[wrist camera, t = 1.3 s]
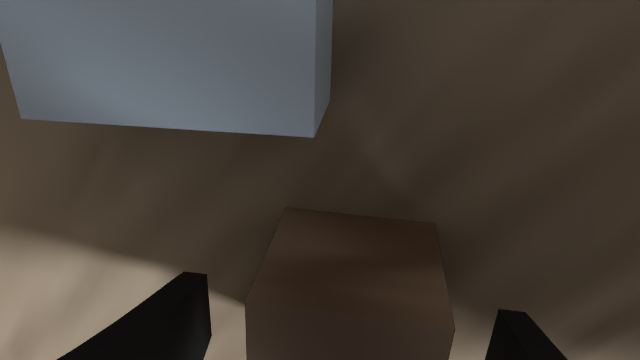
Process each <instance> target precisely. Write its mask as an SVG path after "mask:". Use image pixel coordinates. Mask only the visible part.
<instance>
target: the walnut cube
mask: <svg viewBox="0 0 640 360" xmlns="http://www.w3.org/2000/svg"><path fill="white" fill-rule="evenodd" d="M245 319H246V353H247V360H448V359H449V355H450V350H451V346H452V342H453V337H454V333H455V325H454V320H453V315H452V310H451V305H450V300H449V295H448V290H447V284H446V279H445V274H444V269H443V264H442V259H441V254H440V249H439V244H438V239H437V234H436V229H435V224H433V223H423V222H414V221H405V220H395V219H386V218H377V217H367V216H358V215H349V214H339V213H330V212H321V211H311V210H302V209H293V208H286V209H285V211H284V213H283V216H282V218H281V220H280V223H279V225H278V227H277V229H276V232H275V234H274V236H273V239H272V241H271V243H270V245H269V248H268V250H267V252H266V255H265V257H264V259H263V262H262V264H261V266H260V268H259V271H258V273H257V275H256V278H255V280H254V282H253V284H252V287H251V289H250V291H249V294H248V296H247V298H246V301H245Z"/></svg>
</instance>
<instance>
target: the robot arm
mask: <svg viewBox="0 0 640 360" xmlns="http://www.w3.org/2000/svg"><path fill="white" fill-rule="evenodd" d="M211 336H212V334H211V321H210V309H209V296H208V283H207V274H200V273H192V272H183V273H181V274H180V275H178V276H177V277H176V278H174V279H173V280H172V281H170V282H169V283H167V284H166V285H165V286H163V287H162V288H161V289H160V290H158V291H157V292H156V293H154V294H153V295H152V296H150V297H149V298H147V299H146V300H145V301H143V302H142V303H141V304H139V305H138V306H137V307H135V308H134V309H132V310H131V311H130V312H128V313H127V314H126V315H124V316H123V317H121V318H120V319H119V320H117V321H116V322H114V323H113V324H111V325H110V326H108V327H107V328H105V329H104V330H102V331H101V332H99V333H98V334H96V335H95V336H93V337H92V338H90V339H89V340H87V341H86V342H84V343H83V344H81V345H80V346H78V347H77V348H75V349H73V350H72V351H70V352H69V353H67V354H65V355H64V356H62V357H60V358H59V359H57V360H203V359H204V356H205V353H206V350H207V348H208V345H209V342H210V339H211ZM485 360H567V359H566V357H565V356H564V355H563V354H562V353H561V352H560V351H559V350H558V348H557V347H556V346H555V345H554V344H553V343H552V342H551V341H550V339H549V338H548V337H547V336H546V335H545V334H544V333H543V331H542V330H541V329H540V328H539V327H538V326H537V325H536V323H535V322H534V321H533V320H532V319H531V318H530V317H529V316H528V315H527V314H526V312H519V311H510V310H502V309H499V310H498V313H497V317H496V321H495V325H494V328H493V332H492V336H491V339H490V343H489V347H488V350H487V354H486V358H485Z"/></svg>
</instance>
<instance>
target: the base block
mask: <svg viewBox="0 0 640 360" xmlns="http://www.w3.org/2000/svg"><path fill="white" fill-rule="evenodd" d="M332 24H333V0H0V44H1V47H2V51H3V55H4V58H5V62H6V66H7V69H8V73H9V77H10V80H11V84H12V88H13V91H14V95H15V99H16V102H17V106H18V110H19V113H20V117H21V119H28V120H44V121H60V122H75V123H91V124H107V125H123V126H139V127H154V128H170V129H186V130H202V131H218V132H233V133H249V134H265V135H281V136H297V137H312V138H314V137H315V134H316V132H317V130H318V128H319V125H320V123H321V121H322V118H323V116H324V114H325V112H326V109H327V107H328V105H329V103H330V90H331V57H332Z"/></svg>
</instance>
